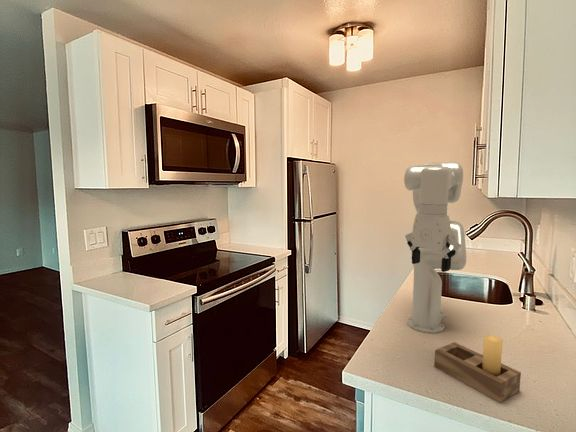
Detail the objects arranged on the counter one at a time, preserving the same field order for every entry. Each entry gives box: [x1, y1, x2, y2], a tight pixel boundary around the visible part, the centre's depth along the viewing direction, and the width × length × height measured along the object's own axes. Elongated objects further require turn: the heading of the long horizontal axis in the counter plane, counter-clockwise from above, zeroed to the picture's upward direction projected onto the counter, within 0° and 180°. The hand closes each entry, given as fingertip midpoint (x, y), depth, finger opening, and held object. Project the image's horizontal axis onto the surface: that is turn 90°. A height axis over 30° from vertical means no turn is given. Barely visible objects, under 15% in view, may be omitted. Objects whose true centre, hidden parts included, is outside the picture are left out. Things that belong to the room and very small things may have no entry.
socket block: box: [433, 341, 522, 403], centre depth 89 cm, size 9×18×5 cm, turn 30°
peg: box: [482, 334, 503, 377], centre depth 85 cm, size 4×4×12 cm
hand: (430, 266), depth 98 cm, fingers open, 9 cm apart
